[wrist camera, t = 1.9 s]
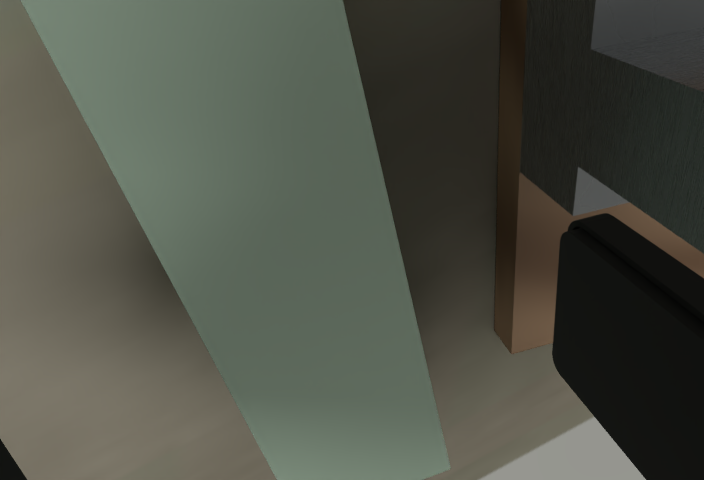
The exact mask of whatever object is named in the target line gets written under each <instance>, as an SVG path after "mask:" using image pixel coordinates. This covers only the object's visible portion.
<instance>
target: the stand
mask: <svg viewBox="0 0 704 480" xmlns="http://www.w3.org/2000/svg"><path fill="white" fill-rule="evenodd" d="M603 213H608V214H610V215H612V216H614V217H616V218H617V219H618V220H620V221H621V222H623V223H624V224H626V225H627V226H629V227H630V228H631V229H633V230H634V231H636V232H637V233H639V234H640V235H642V236H643V237H645V238H646V239H647V240H649V241H650V242H652V243H653V244H655V245H656V246H658V247H659V248H661V249H662V250H663V251H665V252H666V253H668V254H669V255H671V256H672V257H674V258H675V259H677V260H678V261H679V262H681V263H682V264H684V265H685V266H687V267H688V268H690V269H691V270H692V271H694V272H695V273H697V274H698V275H700V276H701V277H703V278H704V0H501V43H500V89H499V136H498V183H497V230H496V276H495V323H494V330H495V332H496V333H497V335H498V336H499V337H500V339H501V340H502V342H503V343H504V344H505V346H506V347H507V349H508V350H509V352H510V353H511V354H514V353H518V352H522V351H525V350H529V349H532V348H536V347H540V346H543V345H547V344H550V343H553V335H554V321H555V306H556V291H557V277H558V262H559V247H560V238H561V236H562V234H563V233H564V232H567V231H568V227H569V225H570V223H571V222H573V221H575V220H579V219H583V218H587V217H591V216H595V215H599V214H603Z"/></svg>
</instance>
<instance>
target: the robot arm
mask: <svg viewBox="0 0 704 480" xmlns="http://www.w3.org/2000/svg"><path fill="white" fill-rule="evenodd" d="M552 355H553V361H554V364H555V367H556V369H557V371H558V372H559V374H560V375H561V376H562V378H563V379H564V380H565V381H566V382H567V384H568V385H569V386H570V387H571V389H572V390H573V391H574V392H575V393H576V395H577V396H578V397H579V398H580V400H581V401H582V402H583V403H584V404H585V406H586V407H587V408H588V409H589V411H590V412H591V413H592V414H593V415H594V417H595V418H596V419H597V420H598V421H599V423H600V424H601V425H602V426H603V428H604V429H605V430H606V431H607V432H608V434H609V435H610V436H611V437H612V438H613V440H614V441H615V442H616V443H617V445H618V446H619V447H620V448H621V449H622V451H623V452H624V453H625V454H626V456H627V457H628V458H629V459H630V460H631V462H632V463H633V464H634V465H635V467H636V468H637V469H638V470H639V471H640V473H641V474H642V475H643V476H644V477H645V479H646V480H704V278H703V277H701V276H700V275H698V274H697V273H695V272H694V271H692V270H691V269H690V268H688V267H687V266H685V265H684V264H682V263H681V262H679V261H678V260H677V259H675V258H674V257H672V256H671V255H669V254H668V253H666V252H665V251H663V250H662V249H661V248H659V247H658V246H656V245H655V244H653V243H652V242H650V241H649V240H647V239H646V238H645V237H643V236H642V235H640V234H639V233H637V232H636V231H634V230H633V229H631V228H630V227H629V226H627V225H626V224H624V223H623V222H621V221H620V220H618V219H617V218H616V217H614V216H612V215H610V214H608V213H603V214H599V215H595V216H591V217H587V218H583V219H579V220H575V221H573V222H571V223H570V225H569V227H568V231H567V232H564V233H563V234H562V236H561V238H560V247H559V262H558V277H557V291H556V306H555V321H554V335H553V350H552ZM0 480H27V479H26V477H25V476H24V474H23V473H22V471H21V470H20V468H19V467H18V465H17V464H16V462H15V461H14V459H13V458H12V456H11V455H10V453H9V452H8V450H7V448H6V447H5V445H4V444H3V442H2V441H1V439H0Z"/></svg>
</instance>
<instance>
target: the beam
mask: <svg viewBox="0 0 704 480" xmlns="http://www.w3.org/2000/svg"><path fill="white" fill-rule="evenodd" d="M21 2H22V4H23V6H24V8H25V9H26V11H27V13H28V15H29V17H30V19H31V21H32V23H33V24H34V26H35V28H36V30H37V32H38V34H39V36H40V37H41V39H42V41H43V43H44V45H45V47H46V49H47V51H48V52H49V54H50V56H51V58H52V60H53V62H54V64H55V66H56V67H57V69H58V71H59V73H60V75H61V77H62V79H63V80H64V82H65V84H66V86H67V88H68V90H69V92H70V94H71V95H72V97H73V99H74V101H75V103H76V105H77V107H78V109H79V110H80V112H81V114H82V116H83V118H84V120H85V122H86V124H87V125H88V127H89V129H90V131H91V133H92V135H93V137H94V138H95V140H96V142H97V144H98V146H99V148H100V150H101V152H102V153H103V155H104V157H105V159H106V161H107V163H108V165H109V167H110V168H111V170H112V172H113V174H114V176H115V178H116V180H117V181H118V183H119V185H120V187H121V189H122V191H123V193H124V195H125V196H126V198H127V200H128V202H129V204H130V206H131V208H132V210H133V211H134V213H135V215H136V217H137V219H138V221H139V223H140V224H141V226H142V228H143V230H144V232H145V234H146V236H147V238H148V239H149V241H150V243H151V245H152V247H153V249H154V251H155V253H156V254H157V256H158V258H159V260H160V262H161V264H162V266H163V268H164V269H165V271H166V273H167V275H168V277H169V279H170V281H171V282H172V284H173V286H174V288H175V290H176V292H177V294H178V296H179V297H180V299H181V301H182V303H183V305H184V307H185V309H186V311H187V312H188V314H189V316H190V318H191V320H192V322H193V324H194V325H195V327H196V329H197V331H198V333H199V335H200V337H201V339H202V340H203V342H204V344H205V346H206V348H207V350H208V352H209V354H210V355H211V357H212V359H213V361H214V363H215V365H216V367H217V369H218V370H219V372H220V374H221V376H222V378H223V380H224V382H225V383H226V385H227V387H228V389H229V391H230V393H231V395H232V397H233V398H234V400H235V402H236V404H237V406H238V408H239V410H240V412H241V413H242V415H243V417H244V419H245V421H246V423H247V425H248V426H249V428H250V430H251V432H252V434H253V436H254V438H255V440H256V441H257V443H258V445H259V447H260V449H261V451H262V453H263V455H264V456H265V458H266V460H267V462H268V464H269V466H270V468H271V469H272V471H273V473H274V475H275V477H276V479H277V480H423V479H426V478H428V477H431V476H434V475H436V474H439V473H442V472H444V471H447V470H449V469H451V467H450V463H449V459H448V454H447V450H446V446H445V441H444V437H443V433H442V428H441V424H440V420H439V415H438V411H437V407H436V402H435V398H434V394H433V389H432V385H431V381H430V376H429V372H428V368H427V363H426V359H425V355H424V350H423V346H422V342H421V337H420V333H419V329H418V324H417V320H416V316H415V311H414V307H413V303H412V298H411V294H410V290H409V285H408V281H407V277H406V272H405V268H404V264H403V259H402V255H401V251H400V246H399V242H398V238H397V233H396V229H395V225H394V220H393V216H392V212H391V207H390V203H389V199H388V194H387V190H386V186H385V181H384V177H383V173H382V168H381V164H380V160H379V155H378V151H377V147H376V142H375V138H374V134H373V129H372V125H371V121H370V116H369V112H368V108H367V103H366V99H365V95H364V90H363V86H362V82H361V77H360V73H359V69H358V64H357V60H356V56H355V51H354V47H353V43H352V38H351V34H350V30H349V25H348V21H347V17H346V12H345V8H344V4H343V0H21Z"/></svg>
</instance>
